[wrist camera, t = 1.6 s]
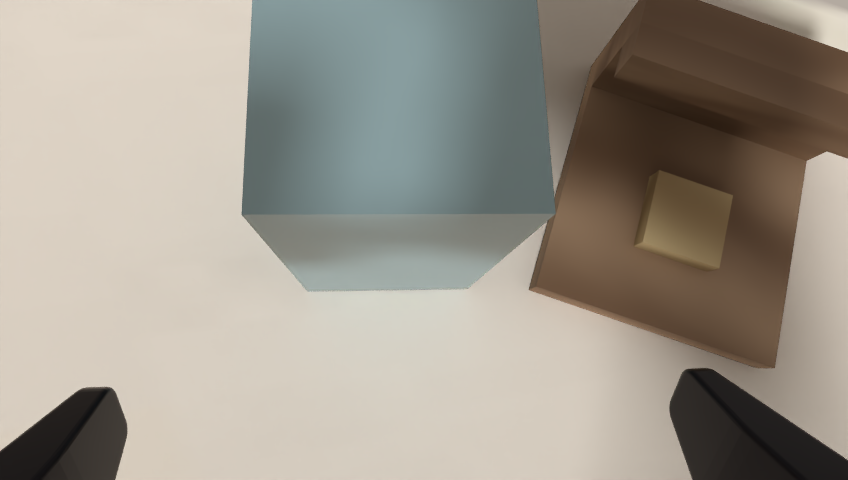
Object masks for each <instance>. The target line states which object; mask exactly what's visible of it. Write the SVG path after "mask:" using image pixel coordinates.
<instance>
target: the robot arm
mask: <svg viewBox="0 0 848 480" xmlns="http://www.w3.org/2000/svg"><path fill="white" fill-rule="evenodd" d="M669 409H670V416H671V420H672V422H673V425H674V428H675V431H676V434H677V437H678V440H679V443H680V445H681V448H682V451H683V454H684V457H685V460H686V463H687V465H688V468H689V471H690V474H691V477H692V480H848V460H847V459H845V458H844V457H842V456H841V455H839V454H838V453H837V452H835V451H834V450H832V449H831V448H829V447H828V446H826V445H825V444H823V443H822V442H820V441H819V440H817V439H816V438H814V437H813V436H811V435H810V434H808V433H807V432H805V431H804V430H802V429H801V428H799V427H798V426H796V425H795V424H793V423H792V422H790V421H789V420H787V419H786V418H784V417H783V416H781V415H780V414H778V413H777V412H775V411H774V410H772V409H771V408H769V407H768V406H766V405H765V404H763V403H762V402H760V401H759V400H757V399H756V398H755V397H753V396H752V395H750V394H749V393H747V392H746V391H744V390H743V389H741V388H740V387H738V386H737V385H735V384H734V383H732V382H731V381H729V380H728V379H726V378H725V377H723V376H722V375H720V374H719V373H717V372H716V371H714V370H712V369H708V368H698V369H686V370H685V371H684V372H683V373H682V374H681V377H680V379H679V381H678V384H677V386H676V389H675V391H674V394H673V396H672V398H671V401H670V407H669ZM126 438H127V422H126V419H125V417H124V414H123V411H122V408H121V406H120V403H119V400H118V397H117V395H116V393H115V391H114V390H113V389H112V388H110V387H88V388H82V389H80V390H78V391H77V392H75V393H74V394H73V395H72V396H70V397H69V398H68V399H66V400H65V401H64V402H63V403H61V404H60V405H59V406H57V407H56V408H55V409H54V410H52V411H51V412H50V413H48V414H47V415H46V416H45V417H43V418H42V419H41V420H39V421H38V422H37V423H36V424H34V425H33V426H32V427H30V428H29V429H28V430H27V431H25V432H24V433H23V434H21V435H20V436H19V437H18V438H16V439H15V440H14V441H13V442H11V443H10V444H9V445H7V446H6V447H5V448H4V449H2V450H1V451H0V480H115V479H116V475H117V471H118V468H119V464H120V460H121V457H122V453H123V449H124V446H125V442H126Z"/></svg>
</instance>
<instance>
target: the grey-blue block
mask: <svg viewBox="0 0 848 480" xmlns="http://www.w3.org/2000/svg"><path fill="white" fill-rule="evenodd" d="M555 214H556V211H555V200H554V189H553V177H552V166H551V155H550V143H549V132H548V121H547V110H546V98H545V87H544V76H543V64H542V53H541V42H540V30H539V19H538V8H537V0H252V19H251V39H250V59H249V79H248V99H247V119H246V138H245V158H244V178H243V198H242V216H243V217H244V218H245V219H246V220H247V221H248V223H249V224H250V225H251V226H252V227H253V228H254V230H255V231H256V232H257V233H258V234H259V235H260V237H261V238H262V239H263V240H264V241H265V242H266V244H267V245H268V246H269V247H270V248H271V249H272V251H273V252H274V253H275V254H276V255H277V256H278V258H279V259H280V260H281V261H282V262H283V263H284V265H285V266H286V267H287V268H288V269H289V270H290V272H291V273H292V274H293V275H294V276H295V277H296V279H297V280H298V281H299V282H300V283H301V284H302V286H303V287H304V288H305V289H306V290H307V291H365V290H427V289H468V288H469V287H470V286H471V285H472V284H474V283H475V282H476V281H477V280H478V279H479V278H481V277H482V276H483V275H484V274H485V273H487V272H488V271H489V270H490V269H491V268H492V267H494V266H495V265H496V264H497V263H498V262H499V261H501V260H502V259H503V258H504V257H505V256H507V255H508V254H509V253H510V252H511V251H512V250H514V249H515V248H516V247H517V246H518V245H520V244H521V243H522V242H523V241H524V240H525V239H527V238H528V237H529V236H530V235H531V234H532V233H534V232H535V231H536V230H537V229H538V228H540V227H541V226H542V225H543V224H544V223H545V222H547V221H548V220H549V219H550V218H551V217H553V216H554V215H555Z"/></svg>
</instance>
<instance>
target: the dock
mask: <svg viewBox="0 0 848 480" xmlns="http://www.w3.org/2000/svg"><path fill="white" fill-rule="evenodd" d="M826 151H828V152H831V153H834V154H836V155H839V156H842V157H845V158H848V52H845V51H842V50H839V49H837V48H834V47H831V46H828V45H825V44H822V43H819V42H817V41H814V40H811V39H808V38H805V37H802V36H799V35H797V34H794V33H791V32H788V31H785V30H782V29H779V28H777V27H774V26H771V25H768V24H765V23H762V22H759V21H757V20H754V19H751V18H748V17H745V16H742V15H739V14H737V13H734V12H731V11H728V10H725V9H722V8H719V7H717V6H714V5H711V4H708V3H705V2H702V1H700V0H639V1H638V2H637V4H636V5H635V6H634V8H633V9H632V11H631V12H630V13H629V15H628V16H627V18H626V19H625V20H624V22H623V23H622V25H621V26H620V27H619V29H618V30H617V31H616V33H615V34H614V36H613V37H612V38H611V40H610V41H609V43H608V44H607V45H606V47H605V48H604V49H603V51H602V52H601V54H600V55H599V56H598V58H597V59H596V61H595V62H594V63H593V65H592V66H591V70H590V74H589V77H588V81H587V84H586V88H585V91H584V95H583V99H582V102H581V106H580V109H579V113H578V116H577V120H576V124H575V127H574V131H573V134H572V138H571V141H570V145H569V149H568V152H567V156H566V159H565V163H564V166H563V170H562V174H561V177H560V181H559V184H558V188H557V191H556V195H555V199H554V200H555V211H556V214H555V215H554V216H553V217H551V218H550V219H549V220H548V224H547V227H546V231H545V234H544V238H543V241H542V245H541V249H540V252H539V256H538V259H537V263H536V266H535V270H534V274H533V277H532V281H531V284H530V288H529V290H531V291H534V292H537V293H539V294H542V295H545V296H548V297H551V298H554V299H557V300H560V301H563V302H566V303H569V304H572V305H575V306H577V307H580V308H583V309H586V310H589V311H592V312H595V313H598V314H601V315H604V316H607V317H610V318H612V319H615V320H618V321H621V322H624V323H627V324H630V325H633V326H636V327H639V328H642V329H645V330H648V331H650V332H653V333H656V334H659V335H662V336H665V337H668V338H671V339H674V340H677V341H680V342H683V343H685V344H688V345H691V346H694V347H697V348H700V349H703V350H706V351H709V352H712V353H715V354H718V355H721V356H723V357H726V358H729V359H732V360H735V361H738V362H741V363H744V364H747V365H750V366H753V367H756V368H775V362H776V356H777V349H778V343H779V337H780V330H781V324H782V317H783V311H784V304H785V298H786V291H787V285H788V278H789V272H790V265H791V259H792V252H793V246H794V239H795V233H796V226H797V220H798V213H799V207H800V200H801V194H802V187H803V181H804V174H805V168H806V161H807V160H809V159H811V158H814V157H816V156H818V155H820V154H822V153H824V152H826Z"/></svg>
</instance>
